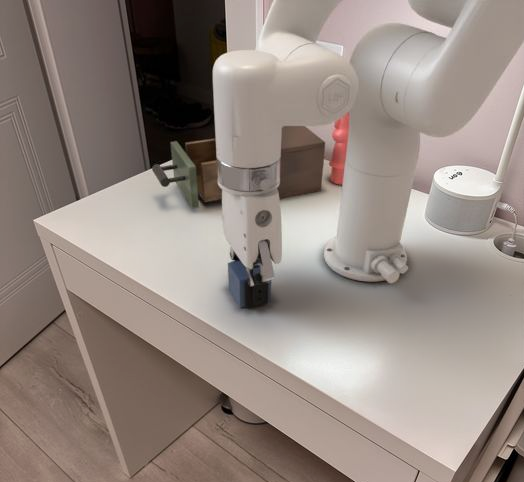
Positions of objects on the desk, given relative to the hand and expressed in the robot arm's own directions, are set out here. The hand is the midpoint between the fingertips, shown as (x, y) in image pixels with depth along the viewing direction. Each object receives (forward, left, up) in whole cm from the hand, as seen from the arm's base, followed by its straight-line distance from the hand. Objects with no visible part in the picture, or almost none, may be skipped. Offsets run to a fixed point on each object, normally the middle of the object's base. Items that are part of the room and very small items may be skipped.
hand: (249, 293), depth 76 cm
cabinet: (+32, -17, 0) cm, 36 cm away
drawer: (+31, -4, +1) cm, 32 cm away
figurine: (+28, -30, -1) cm, 41 cm away
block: (0, 0, 0) cm, 0 cm away
